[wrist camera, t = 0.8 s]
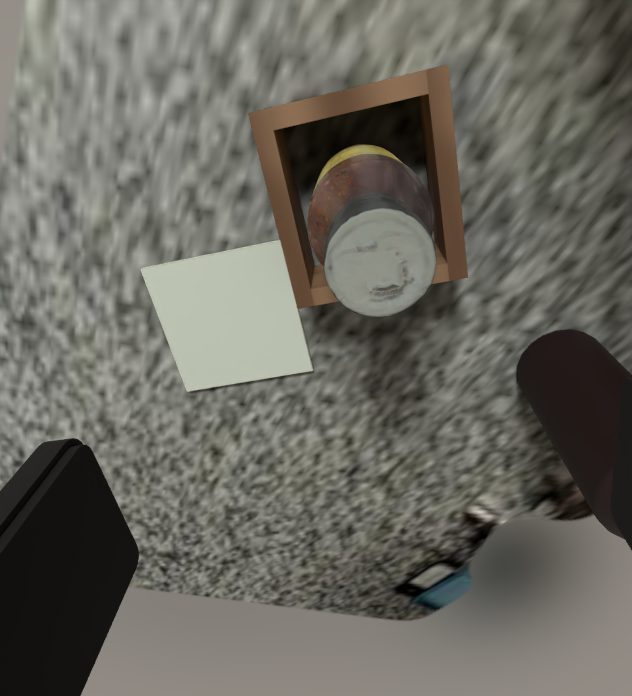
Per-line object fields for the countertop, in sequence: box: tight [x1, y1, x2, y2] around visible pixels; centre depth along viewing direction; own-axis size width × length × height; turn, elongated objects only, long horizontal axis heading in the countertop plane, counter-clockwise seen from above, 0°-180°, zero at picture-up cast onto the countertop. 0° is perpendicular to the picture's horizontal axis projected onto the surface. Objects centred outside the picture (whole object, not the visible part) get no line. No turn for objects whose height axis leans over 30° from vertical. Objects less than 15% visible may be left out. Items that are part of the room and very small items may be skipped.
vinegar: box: [517, 330, 632, 539], centre depth 32 cm, size 7×7×20 cm
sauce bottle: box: [307, 144, 437, 317], centre depth 27 cm, size 7×6×20 cm
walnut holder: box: [248, 65, 468, 309], centre depth 34 cm, size 11×12×5 cm
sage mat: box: [141, 240, 313, 391], centre depth 41 cm, size 11×11×1 cm
